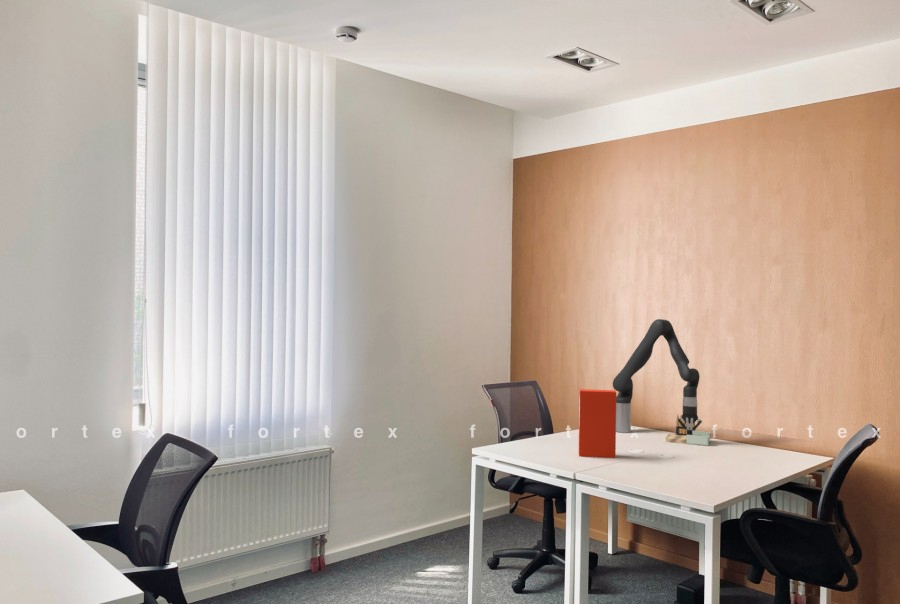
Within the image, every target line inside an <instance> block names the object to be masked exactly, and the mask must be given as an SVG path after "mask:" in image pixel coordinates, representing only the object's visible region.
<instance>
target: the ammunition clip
mask: <svg viewBox="0 0 900 604" xmlns="http://www.w3.org/2000/svg"><path fill="white" fill-rule="evenodd" d="M681 417H682V414H680V415H679V414H677V415H676V421H675V426H676V427H675V435H684V436H687V430H686V429H684V428H683V427H682V425H681V424H680V423H679V421H678V419H679V418H681ZM682 420H683V419H682ZM682 422H683V423H684V424H685V426H686V423H685V421H684V420H683V421H682ZM695 425H696V422H695V423H694V424H693V427H694V426H695ZM689 430H690V423H689ZM693 431H696V429H694V430H693Z"/></svg>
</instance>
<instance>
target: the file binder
mask: <svg viewBox="0 0 900 604" xmlns="http://www.w3.org/2000/svg"><path fill="white" fill-rule="evenodd" d="M578 391H579V393H578V394H579V398H578V400H579V401H578V403H579V404H578V407H579V410H578V457H580V456H581V457H584V458H603V459H616V457H617V456H616V451H617V450H616V446H617V444H616V443H617V441H616V438H617V436H616V435H617V432H616V397H617V391H616V390H615V389H611V390H609V389H588V388H587V389H582V388H579V389H578Z"/></svg>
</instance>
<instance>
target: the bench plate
mask: <svg viewBox="0 0 900 604" xmlns="http://www.w3.org/2000/svg"><path fill="white" fill-rule="evenodd" d="M665 442H666V443H675V444H686V445H688V444H687V436H684V435H676V434H672V433H671V434H669V433H668V434H667V435H666V436H665Z"/></svg>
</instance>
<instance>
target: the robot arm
mask: <svg viewBox="0 0 900 604" xmlns="http://www.w3.org/2000/svg"><path fill="white" fill-rule="evenodd" d="M661 336H662V337H664V339H665V341H666V342H667V344H668V347H669V353H670V355H671V357H672V360H673V361H674V363H675V365H676V367H677V370H678V374H679V376H680V378H681V380H683V381H684V382H687V383H686V385H685V386H684V387H683V388H682V389H683V390H682V393H683V395H682V397H683V398H682V414H681V415H682V417H681V418H680V417H679V419H678V421H679V423H680V424H681V425H682V427H683V428H684V429H686V430H687V435H692V434H693V430H694V429H695V430H696V429H697V428H698V427H699V425H701V424H702V423H703V422H702V421H703V420H702V419H700V418H699V416H698V398H697V395H698V387H699V382H700V373H699V371H698V369H697V368H694V367H693V368H690V367H689V363H690V359H689V358H688V356H687V355H686V353H685V351H684V350H683V348H682V345H681V344H680V342H679V339H678V337H677V335H676V332H675V329H674V326H673V324H672V323H671V322H670V321H669V320H668V319H660V318H659V319H655V320H653V321H652V323H651V324H650V325H649V328H648V329H647V332H646V334H645V335H644V337H643V339H642V340H641V341H640V343H639V344H638V345H637V347H636V348H635V350H634V351H633V353H632V354H631V356H630V357H629V359H628V360H627V362H626V363H625V365H624V367H623V368H622V369H621V370H620V371H619V373H618V374H617V375H616V376H615V377H614V378H613V380H612V387H613V390H615V391H616V392H618V393H617V394H616V433H623V434H624V433H626V434H627V433H631V432H632V429H631V427H632V425H631V424H632V423H631V421H632V420H631V419H632V418H631V417H632V413H631V412H632V398H633V395H634V394H633V393H634V382H633V379H632V377H633V376H634V375H635V374H636V373H638V372H639V371H640V370H641V369H642V368H643V367H644V366H646V364H647V363H648V362H649V360H650V359H651V357H652V355H653V349H654V345H655V343H656V342H657V340H658V339H659V338H660V337H661ZM683 420H684V421H685V423H686V426H685V424H684V423H683ZM689 423H690V430H689ZM694 423H695V426H694V427H693V424H694Z"/></svg>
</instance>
